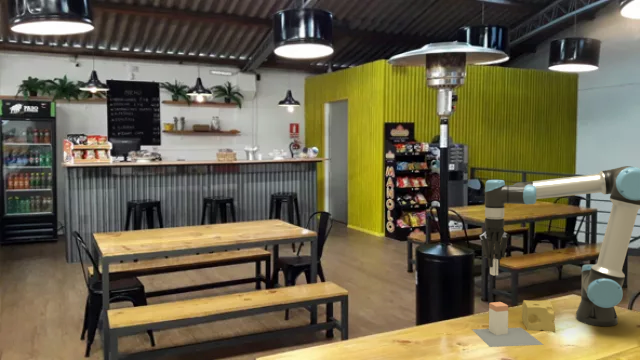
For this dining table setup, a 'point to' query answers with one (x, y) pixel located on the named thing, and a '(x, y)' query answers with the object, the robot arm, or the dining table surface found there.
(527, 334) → the slate mat
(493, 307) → the tall block
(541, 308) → the cheese
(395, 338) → the dining table surface
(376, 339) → the dining table surface
